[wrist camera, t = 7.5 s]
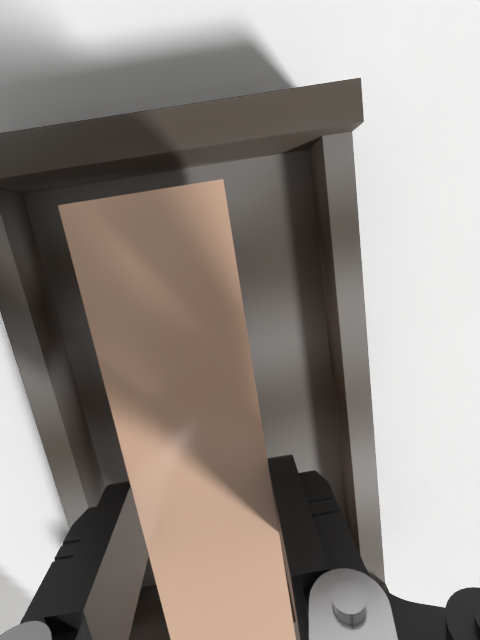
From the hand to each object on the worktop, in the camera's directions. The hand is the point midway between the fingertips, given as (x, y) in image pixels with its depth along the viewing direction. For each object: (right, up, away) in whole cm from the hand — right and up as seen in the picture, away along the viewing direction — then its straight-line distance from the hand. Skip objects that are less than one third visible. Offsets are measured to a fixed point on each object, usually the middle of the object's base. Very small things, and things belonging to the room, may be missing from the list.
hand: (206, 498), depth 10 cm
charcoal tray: (0, +2, +7) cm, 7 cm away
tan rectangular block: (0, +1, +4) cm, 4 cm away
